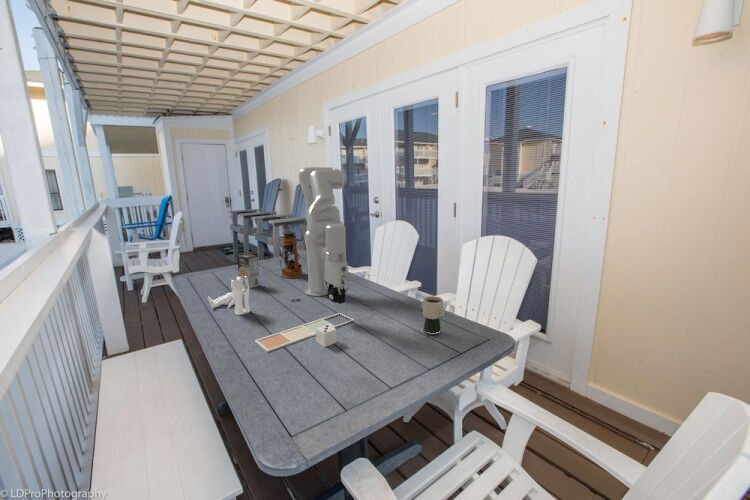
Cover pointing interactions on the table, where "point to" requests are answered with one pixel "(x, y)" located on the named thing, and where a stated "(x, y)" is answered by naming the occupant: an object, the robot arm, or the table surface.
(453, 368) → the table surface
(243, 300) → the beer glass
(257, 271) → the coffee box
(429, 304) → the character mug
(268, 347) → the board
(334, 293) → the billiard ball
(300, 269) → the lantern
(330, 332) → the die
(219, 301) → the toy creature
